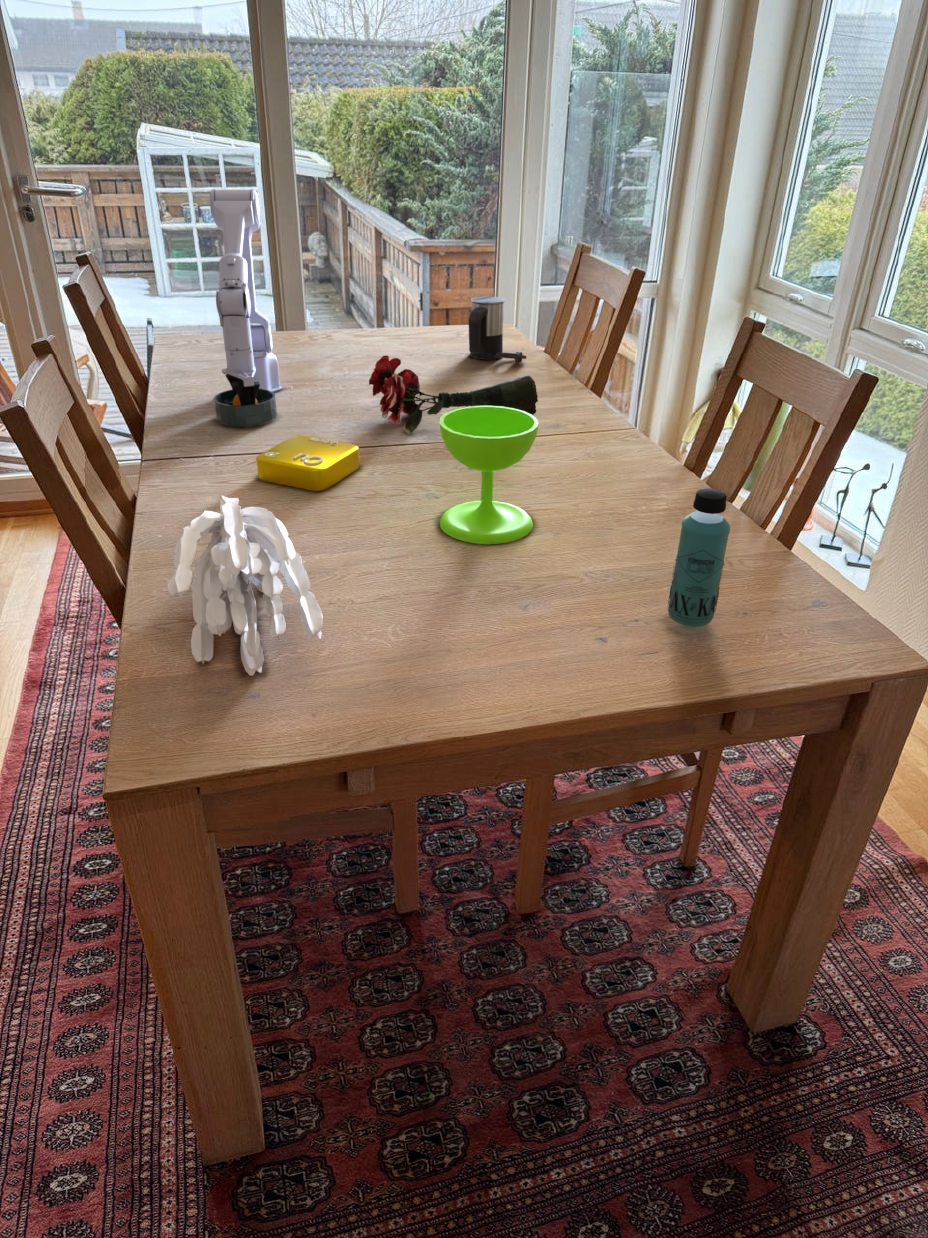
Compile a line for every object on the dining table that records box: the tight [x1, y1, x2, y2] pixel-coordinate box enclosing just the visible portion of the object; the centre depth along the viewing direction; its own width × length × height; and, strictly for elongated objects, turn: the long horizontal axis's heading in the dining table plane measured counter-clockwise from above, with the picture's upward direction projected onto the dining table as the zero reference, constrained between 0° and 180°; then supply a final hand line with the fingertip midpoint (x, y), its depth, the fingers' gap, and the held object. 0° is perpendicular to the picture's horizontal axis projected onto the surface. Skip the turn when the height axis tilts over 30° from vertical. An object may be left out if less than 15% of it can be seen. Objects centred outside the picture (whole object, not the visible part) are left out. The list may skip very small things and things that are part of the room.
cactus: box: [166, 494, 324, 677], centre depth 125 cm, size 17×18×35 cm
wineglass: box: [438, 406, 540, 545], centre depth 151 cm, size 16×16×18 cm
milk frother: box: [468, 295, 527, 363], centre depth 241 cm, size 14×16×15 cm
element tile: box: [255, 434, 360, 492], centre depth 173 cm, size 15×15×5 cm
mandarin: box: [233, 394, 258, 406], centre depth 199 cm, size 5×5×6 cm
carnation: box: [368, 354, 539, 435], centre depth 200 cm, size 16×18×35 cm
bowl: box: [212, 388, 278, 428], centre depth 200 cm, size 13×13×5 cm
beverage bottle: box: [666, 487, 731, 628], centre depth 123 cm, size 6×7×20 cm
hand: (245, 410), depth 200 cm, fingers closed on mandarin, 5 cm apart
